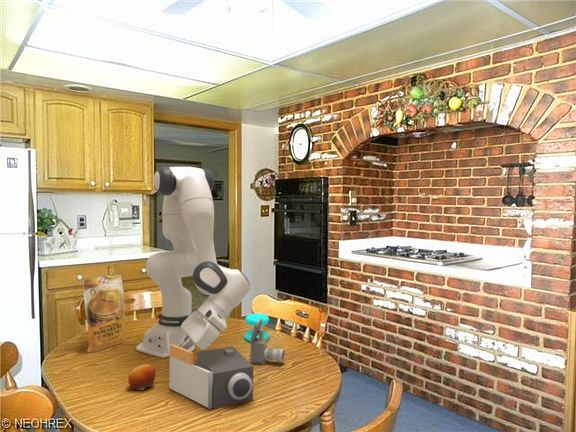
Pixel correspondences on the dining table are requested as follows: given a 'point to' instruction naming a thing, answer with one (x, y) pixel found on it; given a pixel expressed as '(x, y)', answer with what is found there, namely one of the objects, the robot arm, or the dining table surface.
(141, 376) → the fruit
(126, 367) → the dining table surface
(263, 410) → the dining table surface
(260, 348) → the camera
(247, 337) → the turquoise spool
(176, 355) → the side door
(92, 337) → the pancake mix bag
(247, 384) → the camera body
